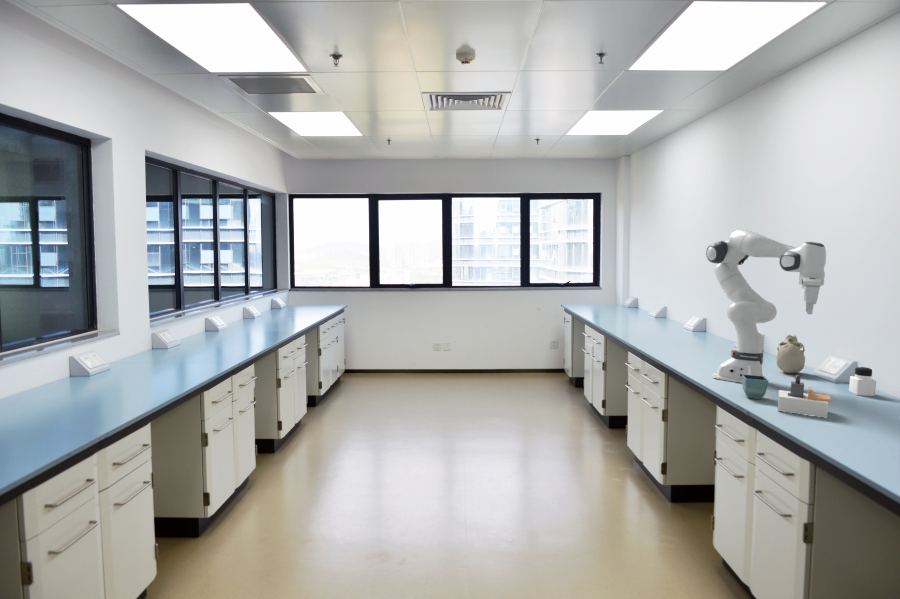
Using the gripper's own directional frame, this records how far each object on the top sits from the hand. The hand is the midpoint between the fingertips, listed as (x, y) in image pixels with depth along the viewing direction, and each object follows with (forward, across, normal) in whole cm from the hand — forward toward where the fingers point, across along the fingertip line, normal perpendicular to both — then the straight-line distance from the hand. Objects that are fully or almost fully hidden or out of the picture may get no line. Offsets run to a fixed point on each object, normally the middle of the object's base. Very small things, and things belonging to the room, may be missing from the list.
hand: (808, 313), depth 229 cm
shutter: (+31, +22, +4) cm, 38 cm away
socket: (+37, +22, -1) cm, 43 cm away
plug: (+35, +22, -3) cm, 41 cm away
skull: (+37, -55, -4) cm, 67 cm away
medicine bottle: (+37, -25, +23) cm, 51 cm away
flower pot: (+37, +10, -18) cm, 43 cm away
